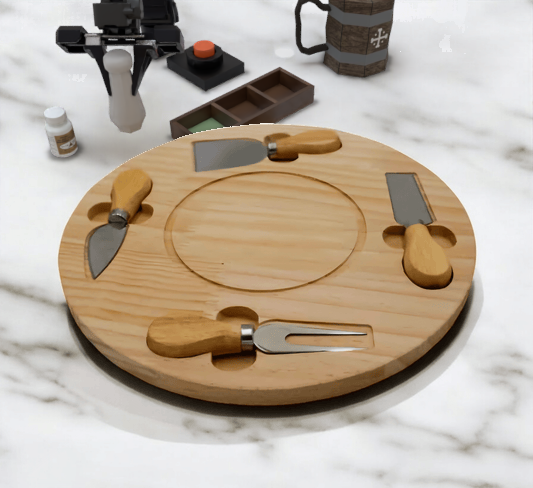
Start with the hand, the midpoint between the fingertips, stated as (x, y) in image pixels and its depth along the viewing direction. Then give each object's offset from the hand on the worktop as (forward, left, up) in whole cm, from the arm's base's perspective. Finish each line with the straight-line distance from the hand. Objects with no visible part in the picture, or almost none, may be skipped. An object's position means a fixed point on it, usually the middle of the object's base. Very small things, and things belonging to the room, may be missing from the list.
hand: (121, 95), depth 100 cm
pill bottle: (-10, -7, -12) cm, 17 cm away
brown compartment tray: (+4, +21, -12) cm, 25 cm away
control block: (-14, +27, -12) cm, 33 cm away
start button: (-14, +27, -9) cm, 31 cm away
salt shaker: (-1, +1, -7) cm, 7 cm away
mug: (+2, +49, -12) cm, 50 cm away
